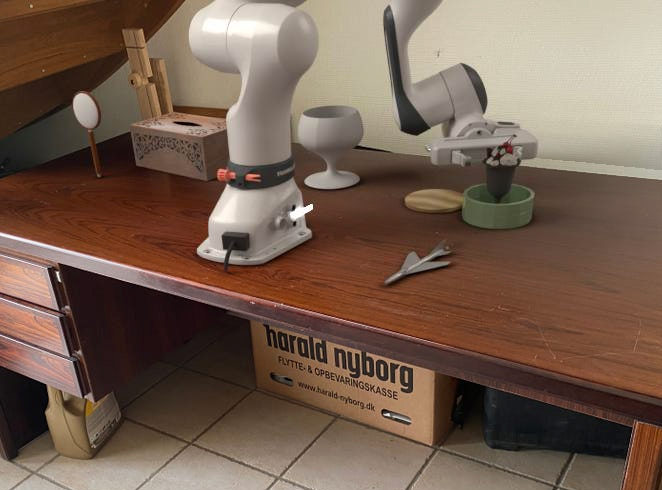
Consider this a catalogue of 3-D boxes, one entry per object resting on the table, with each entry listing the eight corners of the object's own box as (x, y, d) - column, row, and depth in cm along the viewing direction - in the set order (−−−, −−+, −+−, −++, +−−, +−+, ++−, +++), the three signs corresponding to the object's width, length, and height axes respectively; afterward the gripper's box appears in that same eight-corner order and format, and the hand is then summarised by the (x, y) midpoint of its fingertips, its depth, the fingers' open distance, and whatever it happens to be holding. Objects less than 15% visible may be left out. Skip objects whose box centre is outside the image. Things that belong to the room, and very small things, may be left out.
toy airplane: (364, 280, 115) (364, 267, 114) (439, 239, 127) (440, 226, 126) (404, 293, 110) (404, 279, 109) (477, 249, 122) (479, 236, 121)
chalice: (346, 195, 151) (344, 121, 143) (288, 188, 157) (284, 117, 150) (374, 175, 161) (374, 105, 153) (319, 169, 167) (316, 102, 160)
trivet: (456, 216, 136) (456, 212, 136) (396, 209, 142) (396, 205, 141) (474, 195, 145) (474, 192, 144) (416, 190, 150) (417, 186, 150)
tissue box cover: (136, 165, 181) (129, 124, 176) (179, 151, 190) (173, 112, 185) (207, 181, 166) (202, 137, 161) (250, 164, 175) (246, 122, 170)
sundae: (519, 220, 131) (529, 137, 124) (482, 222, 132) (489, 139, 124) (510, 208, 137) (518, 127, 129) (474, 210, 137) (480, 130, 130)
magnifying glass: (84, 176, 176) (66, 90, 166) (89, 174, 178) (72, 89, 167) (109, 180, 172) (93, 92, 162) (115, 178, 173) (98, 91, 163)
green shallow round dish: (523, 232, 127) (526, 208, 125) (453, 224, 133) (454, 200, 130) (538, 209, 136) (541, 186, 134) (472, 202, 142) (474, 180, 139)
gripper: (423, 129, 145) (437, 147, 133) (526, 121, 144) (549, 139, 133) (422, 160, 148) (435, 180, 137) (522, 153, 148) (544, 173, 136)
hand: (492, 160), depth 135 cm, fingers open, 8 cm apart
